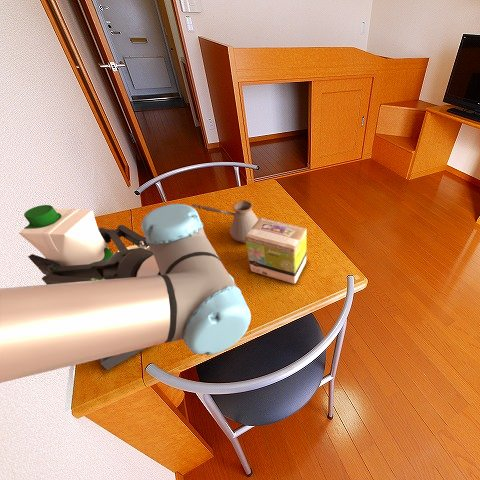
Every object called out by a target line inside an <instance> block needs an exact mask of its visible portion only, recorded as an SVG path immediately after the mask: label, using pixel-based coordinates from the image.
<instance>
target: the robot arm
mask: <svg viewBox="0 0 480 480" xmlns="http://www.w3.org/2000/svg"><path fill="white" fill-rule="evenodd" d="M140 226H141V230H142V233H143V235H141V234H139V233H138V232H136V231H134V230H132V229H131V228H129V227H128V226H125V225H124V224H120V225H117V226H116V227H117V228H115V229H114V228H111V229H108V228H105V227H98V230H99V232H100V234H101V236H102V237H103V239H104V240H105V242H106V244H110V243H111V242H113V244H114V245H115V246H116V248H117V251H119V252H117V251H116V253H115V252H114V253H113V255H112V256H111V257H110V258H108V259H106V260H105V261H98V262H94V264H85V265H72V266H61V265H60V264H59V263H58V262H55V261H52V260H49V259H46V258H45V257H44V256H43V257H42V256H39V255H36V254H34V253H31V254H30V255H28V256H27V258H28V259H29V260H30V261H31V262H32V263H33V264H34V266H35V267H36V268H37V269H38V270H39V271H40V272H41V273H42V274H43V276H42V277H41V280H42V281H43V283H44V284H38V285H26V286H15V287H14V286H13V287H3V288H2V287H1V288H0V384H2V383H6V382H11V381H14V380H15V381H16V380H19V379H23V378H26V377H27V378H28V377H32V376H36V375H40V374H43V373H47V372H52V371H55V370H60V369H63V368H68V367H72V366H75V365H81V364H85V363H90V362H93V361H97V360H100V359H101V358H106V357H110V356H114V355H118V354H122V353H126V352H130V351H134V350H138V349H143V348H146V349H148V348H150V347H155V346H159V345H163V344H166V343H173V342H177V341H181V340H182V341H183V342H184V345H186V346H187V348H188V350H189V351H190V352H191V353H193V354H195V355H198V356H200V355H205V356H213V355H216V354H220V353H222V352H224V351H227V350H228V349H230V348H231V347H233V346H234V345H235V344H237V343H238V342H239V341H240V340H241V339H242V338H243V337H244V336H245V334H246V333H247V331H248V329H249V326H250V324H251V320H252V314H251V310H250V308H249V306H248V304H247V302H246V300H245V298H244V295H243V294H242V290H241V289H240V288H239V286H237V284H236V283H235V280H234V279H235V278H234V277H233V276H232V275H231V274H229V272H228V270H227V269H226V268H225V266H224V264H223V263H222V260H221V259H220V257H219V256H218V254H217V252H216V249H214V247H213V246H212V245H213V244H211V242H210V240H209V239H208V237H207V235H206V233H205V230H204V222H202V221H201V218H200V215H199V212H198V211H197V210H196V208H195V207H192V205H188V204H185V203H184V204H183V203H170V204H166V205H162V206H159V207H155V208H154V209H152V210H151V211H149V212H148V213H147V214H146V215H145V216H144V217H143V218H142V220H141V225H140ZM122 237H123V239H125V240H127V241H128V242H131V243H132V244H133V245H137V246H138V247H140V248H135V249H129V250H128V249H127V248H126V247H127V246H126V244H125V243H124V242H123V240H122V239H121V238H122ZM149 250H151V251H149ZM87 278H93V279H91V280H90V279H87ZM95 278H99V279H101V280H95Z"/></svg>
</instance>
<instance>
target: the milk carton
mask: <svg viewBox="0 0 480 480" xmlns="http://www.w3.org/2000/svg"><path fill="white" fill-rule="evenodd" d="M23 216H24V218H25V219H26V221H27V222H28V225H26V226H25V227H23V229H22V230H20V231H19V232H18V234H19V235H20V236H21V237H22V238H24V239H25V240H26V241H27V242H28V243H29V244H31V246H33V247H34V248H36V250H38V252H40V254H41V255H42V256H43V258H46V259H49V260H52V261H55V262H58V263H59V264H60V265H61V266H72V265H85V264H94V262H98V261H105V260H106V259H108V258H110V257H111V256H112V255H113V254H114V253H113V252H112V250H111V248H110V247H109V245H108V243H106V242H105V240H104V239H103V237H102V236H101V234H100V232H99V230H98V228H99V227H98V225H97V221H96V218H95V215H94V210H91V209H80V208H54V207H53V206H52V205H50V204H41V205H37V206H34V207H31V208H29V209H28V210H26V211H24V214H23ZM87 279H90V280H91V279H93V278H87ZM95 280H101V279H99V278H95Z"/></svg>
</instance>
